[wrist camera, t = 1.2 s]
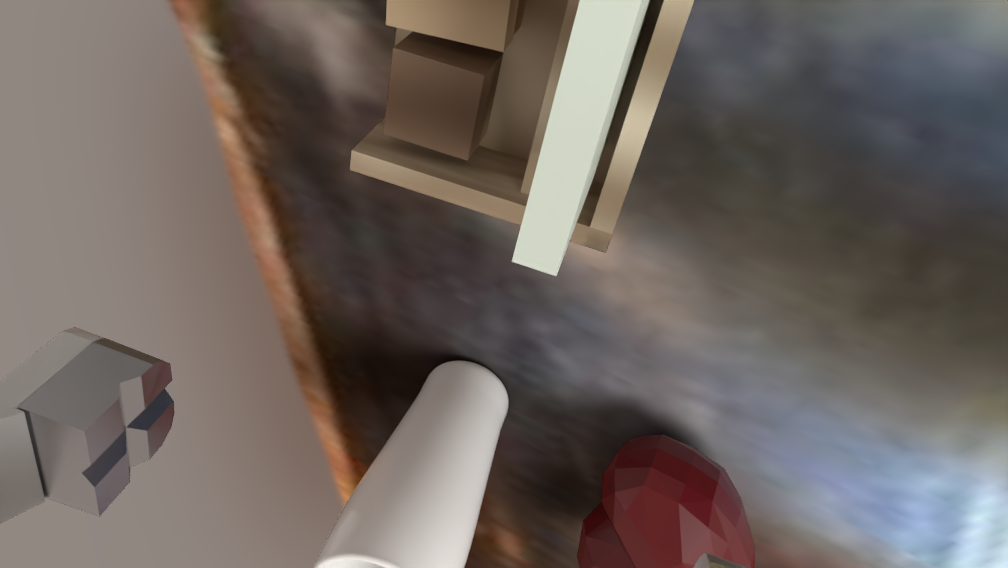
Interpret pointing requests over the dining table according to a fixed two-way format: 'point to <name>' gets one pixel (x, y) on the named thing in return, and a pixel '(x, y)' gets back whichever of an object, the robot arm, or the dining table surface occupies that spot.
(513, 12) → the offcut top
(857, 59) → the dining table surface
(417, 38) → the offcut small
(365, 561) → the drinking glass
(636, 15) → the sheet
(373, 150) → the rack
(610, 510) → the heart
